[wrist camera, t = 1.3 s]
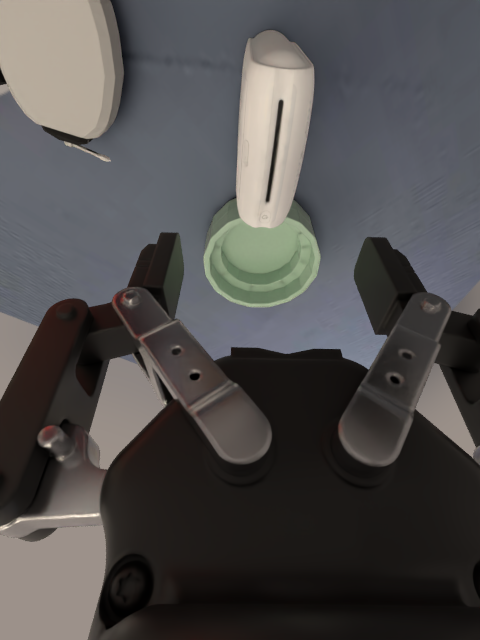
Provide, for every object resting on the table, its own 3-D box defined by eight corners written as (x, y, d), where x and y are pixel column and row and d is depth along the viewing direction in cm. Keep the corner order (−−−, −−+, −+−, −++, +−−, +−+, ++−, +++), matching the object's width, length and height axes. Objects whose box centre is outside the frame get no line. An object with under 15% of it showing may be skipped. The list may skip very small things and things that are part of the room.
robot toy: (-44, 94, 27) (130, 149, 29) (-87, 107, 24) (113, 168, 26) (-124, -150, 18) (134, -46, 20) (-207, -180, 15) (108, -54, 17)
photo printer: (278, 173, 31) (292, 243, 22) (235, 169, 31) (232, 239, 22) (301, 32, 23) (334, 59, 15) (244, 26, 23) (244, 50, 15)
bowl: (203, 189, 32) (198, 213, 29) (321, 189, 32) (330, 213, 29) (211, 280, 41) (208, 307, 38) (304, 280, 41) (309, 307, 37)
